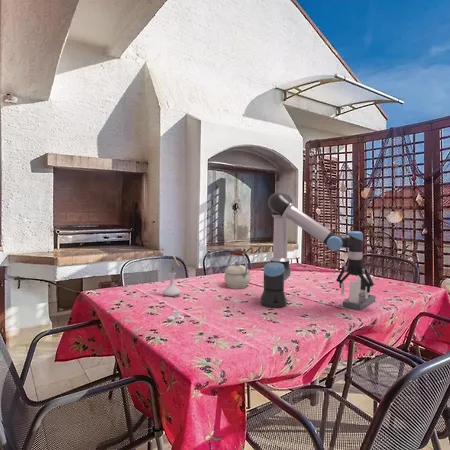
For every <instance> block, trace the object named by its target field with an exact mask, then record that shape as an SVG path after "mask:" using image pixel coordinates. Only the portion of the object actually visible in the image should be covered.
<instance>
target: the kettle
mask: <svg viewBox="0 0 450 450" xmlns="http://www.w3.org/2000/svg"><path fill="white" fill-rule="evenodd" d="M229 253H230V256H229V258H228V260H227V267H226V268H225V270H224V276H223V279H224V282H225V284H226V287H227V288H230V289H235V290H237V289H245V288H247V287H248V285H249V283H250V281H251V277H250V270H249V269H248V264H247V261H246V259H245V256H246V255H245V252H241V251H236V250H235V251H234V250H230V251H229ZM233 255H235V256H238V257H239V256H240V257H242V261H243V263H244V265H242V264H241V263H240V262H239V261H238V260H237V261H235V262H234V264H232V265H230V261H231V260H232V257H233Z"/></svg>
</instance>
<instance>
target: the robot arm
mask: <svg viewBox="0 0 450 450" xmlns="http://www.w3.org/2000/svg"><path fill="white" fill-rule="evenodd" d="M267 205H268V208H269V209H270V210H271V216H272V217H273V241H272V242H273V244H272V247H273V249H272V257H271V258H270V260H269V261H270V262H267V263H266V264H264V267H263V292H262V294H261V298H260V299H259V300H260V303H259V304H260V305H261V306H263V307H267V308H276V309H277V308H278V309H280V308H284V307H286V306H287V305H288V303H287V297H286V294H285V281H286V280H287V279H289V277H290V276H291V269H292V268H291V266H290V259H289V258H288V240H289V239H288V235H289V220H290V221H291V222H292V223H293V224H295V225H297V227H299V228H301V229H302V230H304V231H305V232H307V233H308V234H309V235H311V236H312V237H314V238H315V239H317V240H318V241H320V242H321V243H323V244H324V245H325V246H326V247H327V248H328V249H329V250H330V251H334V252H335V251H338V250H339V251H340V250H341V249H347V251H348V253H347V254H348V255H347V257H348V259H347V266H346V265H342V266H341V271H340V273H339V274H338V276H337V278H336V280H335V281H336V282H338V283H339V289H340V295H344V294H345V282H344V281H345V280H346V279H348V277H349V276H350V275H351V276H356V277H357V276H359V277H360V278H361V279H362V280H363V282H364V283H365V284H366V287H365V299H367V298H368V293H369V292H370V287H371V288H372V287H373V286H375V283H374V282H373V280H372V279H371V277H370V275H371V274H370V273H369V268H363V251H364V250H363V249H364V248H363V247H364V234H363V232H362V231H360V230H359V231H357V230H355V231H353V230H352V231H349V232H348V234H336V233H334V232H332V231H331V230H330V229H328V228H327V227H325V226H323V225H322V224H321V223H319V222H318V221H316V220H315V219H313V218H312V217H310V216H309V215H308V214H306V213H305V212H303V211H302V210H300V209H299V208H298V207H296V206H295V205H294V202H293V199H292V197H291V196H290V195H289V194H287V193H283V192H275V193H273V194H271V195H270V196H269V198H268V202H267ZM346 270H347V273H346V274H345V272H346ZM362 272H363V273H362ZM344 274H345V275H344ZM363 274H365V275H366V277H367V279H368V281H369V282H368V281H367V280H366V278H365V277H364V276H363ZM343 275H344V276H343ZM370 293H371V292H370Z"/></svg>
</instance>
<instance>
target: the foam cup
mask: <svg viewBox="0 0 450 450" xmlns="http://www.w3.org/2000/svg"><path fill="white" fill-rule="evenodd" d="M362 274H363V276H364V277H366V275H365V273H362ZM369 275H370V277H371V279H372V281H373V280H374V275H372V274H369ZM356 279H357V282H359V293H360V285H361V278H360V277H359V276H356ZM371 292H372V286H371V287H370V292H369V295H371Z"/></svg>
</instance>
